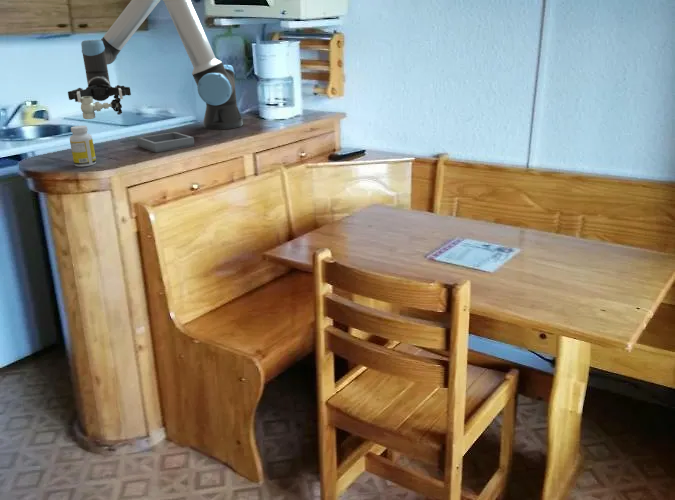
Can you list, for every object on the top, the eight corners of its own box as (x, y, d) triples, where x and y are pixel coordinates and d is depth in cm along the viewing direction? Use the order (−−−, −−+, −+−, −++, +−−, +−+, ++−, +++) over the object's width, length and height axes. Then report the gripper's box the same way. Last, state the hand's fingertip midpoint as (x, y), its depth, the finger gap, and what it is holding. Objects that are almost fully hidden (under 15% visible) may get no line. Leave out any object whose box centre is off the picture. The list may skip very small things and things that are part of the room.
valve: (84, 121, 207) (123, 116, 212) (81, 100, 204) (120, 96, 210) (80, 116, 212) (118, 112, 217) (77, 95, 209) (115, 92, 215)
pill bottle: (94, 161, 206) (87, 124, 202) (98, 165, 201) (92, 127, 197) (72, 164, 203) (65, 126, 199) (76, 168, 198) (69, 129, 194)
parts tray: (175, 140, 233) (174, 131, 232) (194, 145, 223) (193, 137, 222) (138, 146, 225) (137, 137, 224) (156, 152, 215) (154, 143, 214)
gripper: (137, 96, 232) (141, 104, 213) (64, 102, 225) (61, 111, 205) (134, 75, 229) (137, 81, 210) (59, 80, 222) (56, 87, 203)
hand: (100, 96), depth 208 cm, fingers closed on valve, 12 cm apart
